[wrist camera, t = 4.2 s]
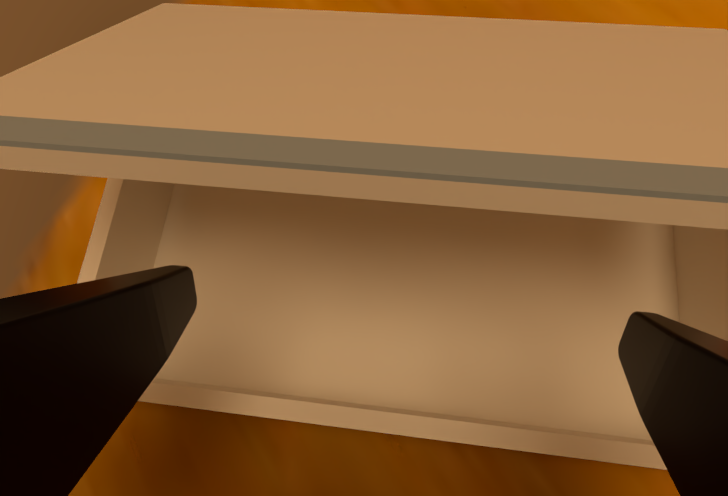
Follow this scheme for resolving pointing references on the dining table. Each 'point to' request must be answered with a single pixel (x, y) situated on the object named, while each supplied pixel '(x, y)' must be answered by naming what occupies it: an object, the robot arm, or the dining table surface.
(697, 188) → the flap
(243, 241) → the carton
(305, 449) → the dining table surface
